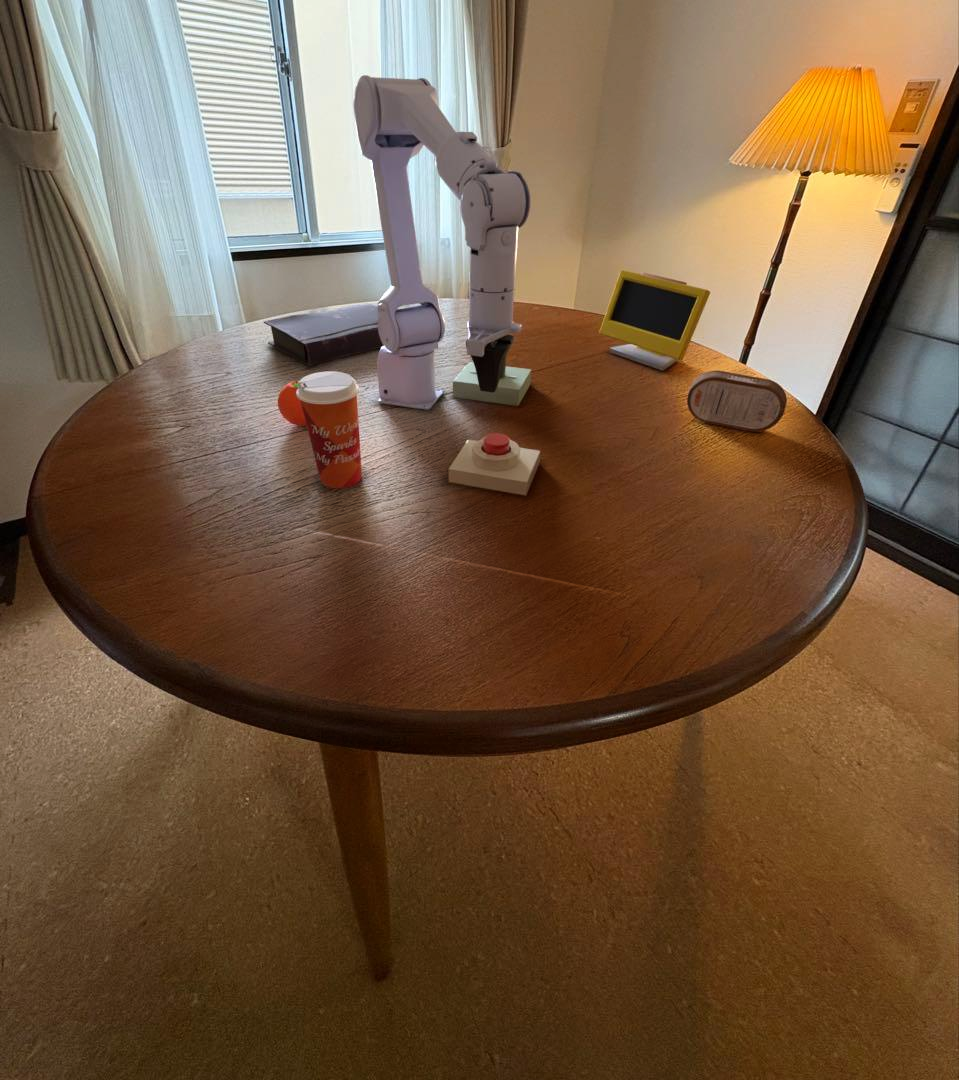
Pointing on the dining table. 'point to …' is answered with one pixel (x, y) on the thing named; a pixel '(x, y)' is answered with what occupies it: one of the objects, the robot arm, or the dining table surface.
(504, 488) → the button block
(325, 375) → the paper cup
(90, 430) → the dining table surface
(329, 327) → the diary
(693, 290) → the toy computer monitor
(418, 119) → the robot arm
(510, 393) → the dial panel
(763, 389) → the tin
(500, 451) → the red button
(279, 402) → the clementine
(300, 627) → the dining table surface
